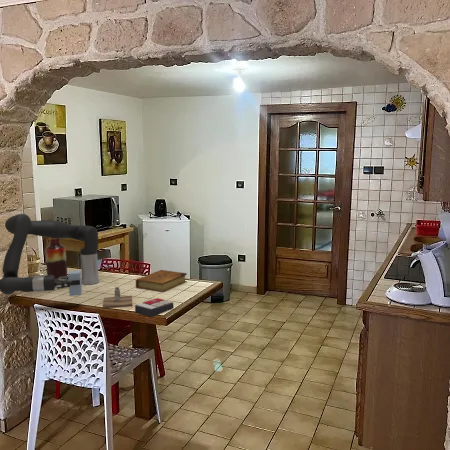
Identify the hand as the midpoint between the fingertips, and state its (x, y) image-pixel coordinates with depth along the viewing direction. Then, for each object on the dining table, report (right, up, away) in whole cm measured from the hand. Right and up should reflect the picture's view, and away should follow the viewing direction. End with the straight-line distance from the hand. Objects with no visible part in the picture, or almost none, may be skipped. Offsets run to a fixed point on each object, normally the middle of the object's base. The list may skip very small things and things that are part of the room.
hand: (80, 280), depth 226 cm
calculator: (+37, -14, -6) cm, 40 cm away
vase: (-28, -6, +45) cm, 54 cm away
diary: (+35, -7, +36) cm, 51 cm away
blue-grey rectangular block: (-2, -7, 0) cm, 7 cm away
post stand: (+17, -12, +5) cm, 21 cm away
